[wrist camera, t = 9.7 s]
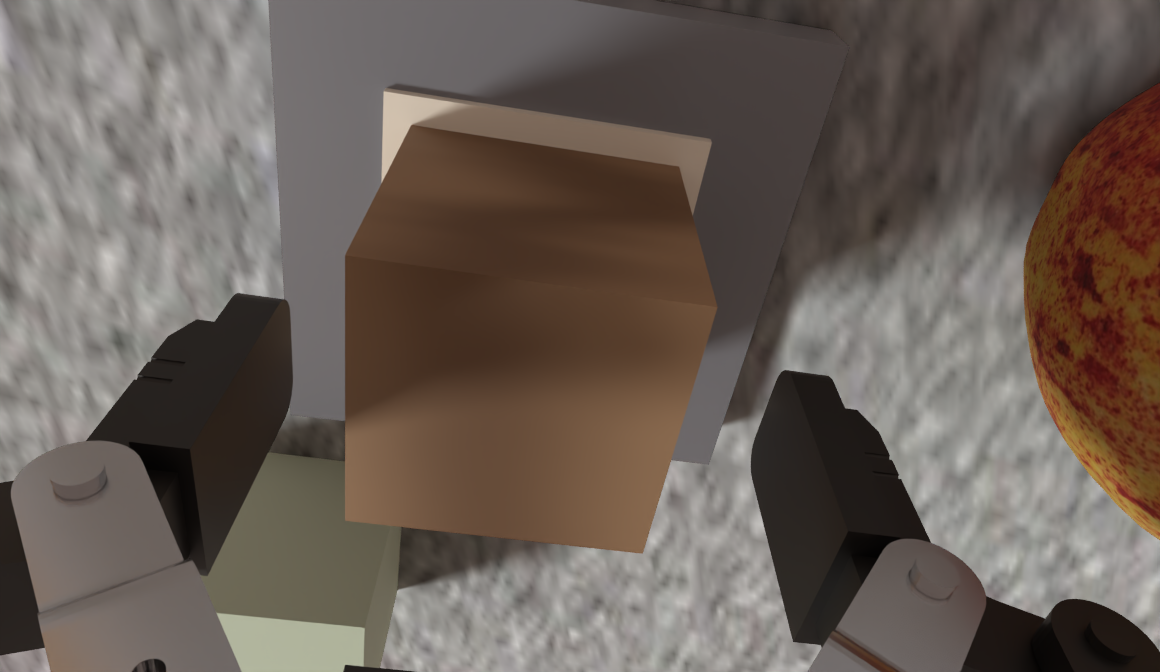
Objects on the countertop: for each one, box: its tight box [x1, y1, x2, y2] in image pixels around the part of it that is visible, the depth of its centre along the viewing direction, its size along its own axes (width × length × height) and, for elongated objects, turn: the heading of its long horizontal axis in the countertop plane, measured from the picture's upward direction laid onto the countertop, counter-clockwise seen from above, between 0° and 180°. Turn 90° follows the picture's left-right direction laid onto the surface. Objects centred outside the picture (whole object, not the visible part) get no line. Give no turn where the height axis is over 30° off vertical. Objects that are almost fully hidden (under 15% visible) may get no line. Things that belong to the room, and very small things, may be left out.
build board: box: [268, 0, 850, 465], centre depth 17 cm, size 10×10×1 cm
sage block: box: [200, 452, 401, 672], centre depth 20 cm, size 5×5×5 cm
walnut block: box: [345, 125, 718, 553], centre depth 14 cm, size 5×5×5 cm
